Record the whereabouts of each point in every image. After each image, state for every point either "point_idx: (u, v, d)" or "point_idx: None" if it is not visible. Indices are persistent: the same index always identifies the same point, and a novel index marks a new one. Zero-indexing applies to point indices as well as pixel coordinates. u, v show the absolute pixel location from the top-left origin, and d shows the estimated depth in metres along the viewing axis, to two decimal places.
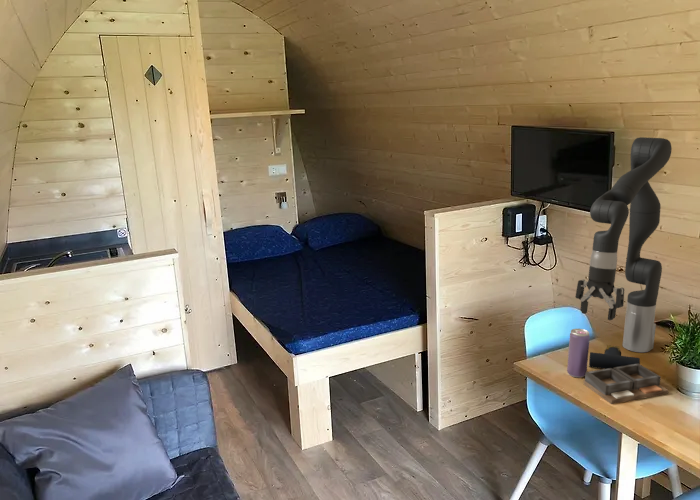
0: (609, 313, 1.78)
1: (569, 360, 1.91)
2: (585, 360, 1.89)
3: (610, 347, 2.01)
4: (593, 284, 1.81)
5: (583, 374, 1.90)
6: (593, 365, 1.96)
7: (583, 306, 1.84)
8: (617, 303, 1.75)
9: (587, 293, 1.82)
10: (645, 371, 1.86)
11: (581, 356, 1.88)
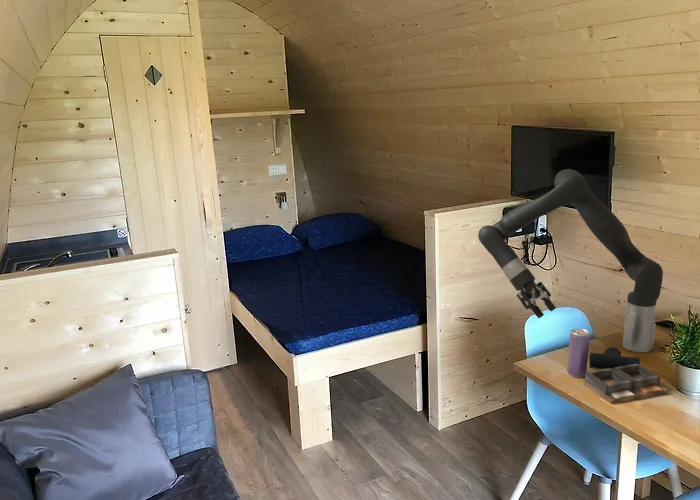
0: None
1: (569, 360, 1.91)
2: (585, 360, 1.89)
3: (610, 347, 2.01)
4: None
5: (583, 374, 1.90)
6: (593, 365, 1.96)
7: None
8: None
9: None
10: (645, 371, 1.86)
11: (581, 356, 1.88)
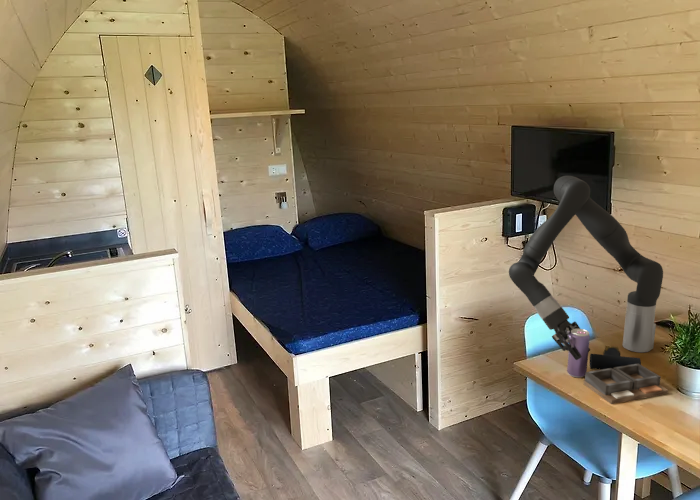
0: None
1: (569, 360, 1.91)
2: (585, 360, 1.89)
3: (609, 348, 2.00)
4: None
5: (583, 374, 1.90)
6: (594, 366, 1.95)
7: None
8: None
9: None
10: (645, 371, 1.86)
11: None
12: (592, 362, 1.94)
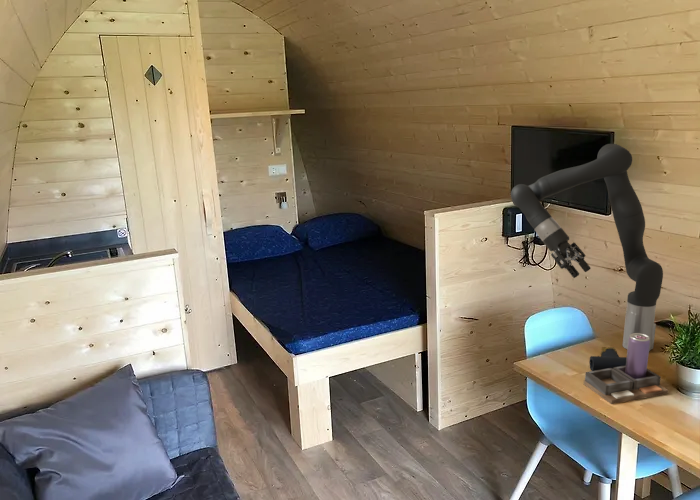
0: None
1: (627, 366, 1.83)
2: (645, 366, 1.81)
3: (607, 349, 2.00)
4: None
5: None
6: (596, 369, 1.93)
7: None
8: None
9: None
10: None
11: (641, 362, 1.80)
12: (594, 365, 1.92)
